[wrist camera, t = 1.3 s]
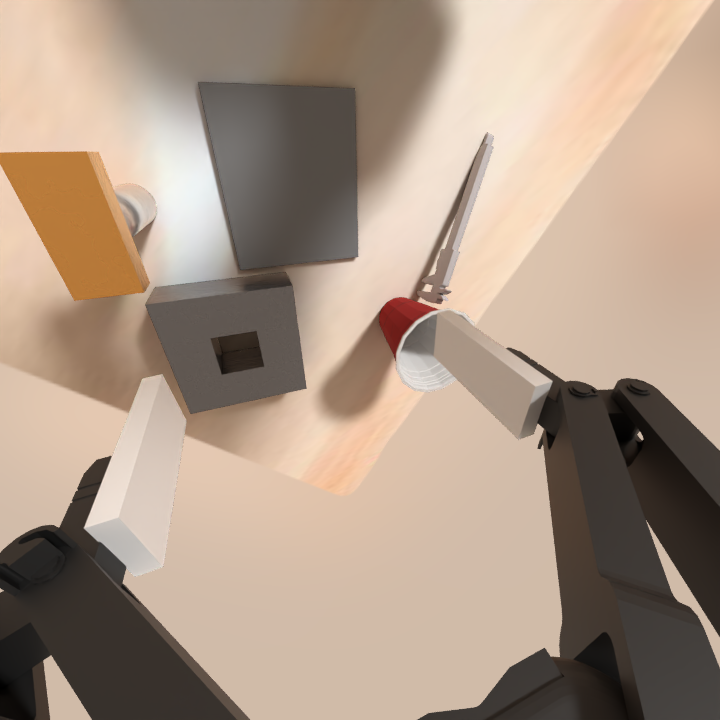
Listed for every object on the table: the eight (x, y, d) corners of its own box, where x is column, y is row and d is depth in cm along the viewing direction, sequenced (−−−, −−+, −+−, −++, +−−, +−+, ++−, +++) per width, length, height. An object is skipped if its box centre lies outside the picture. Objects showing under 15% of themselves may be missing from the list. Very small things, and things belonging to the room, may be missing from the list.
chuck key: (90, 154, 27) (-7, 152, 16) (142, 153, 28) (86, 151, 17) (128, 250, 31) (74, 300, 20) (173, 246, 33) (144, 292, 21)
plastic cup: (426, 267, 44) (480, 297, 34) (432, 331, 50) (479, 372, 41) (354, 293, 42) (390, 332, 33) (369, 356, 48) (404, 405, 39)
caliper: (420, 294, 46) (444, 311, 41) (414, 292, 46) (437, 309, 41) (491, 136, 38) (531, 133, 33) (485, 132, 37) (524, 128, 32)
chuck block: (154, 287, 34) (145, 304, 30) (285, 272, 38) (292, 285, 34) (194, 389, 42) (190, 413, 38) (299, 368, 45) (306, 388, 41)
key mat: (198, 83, 27) (198, 81, 27) (353, 89, 31) (355, 88, 30) (240, 268, 36) (240, 270, 35) (356, 255, 40) (358, 257, 39)
